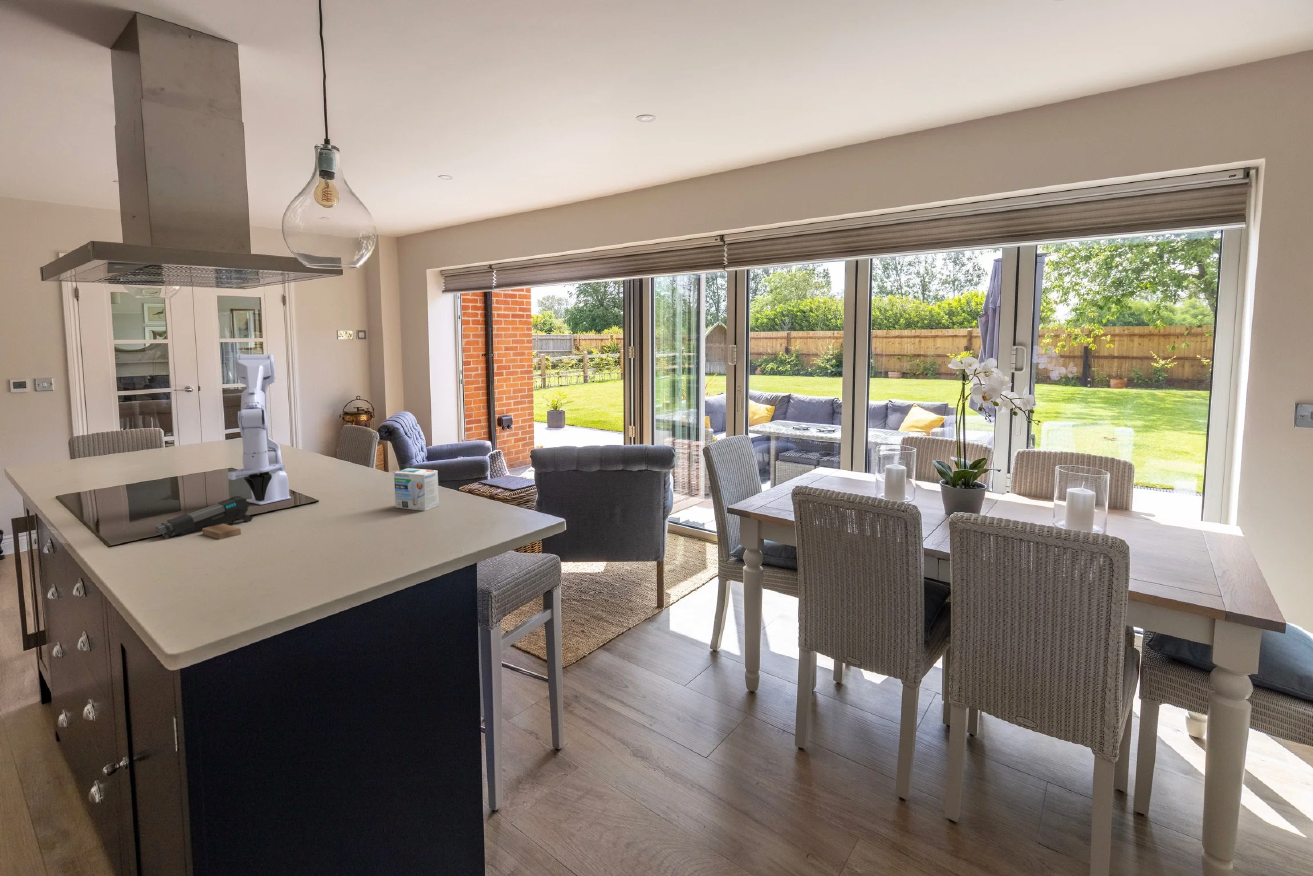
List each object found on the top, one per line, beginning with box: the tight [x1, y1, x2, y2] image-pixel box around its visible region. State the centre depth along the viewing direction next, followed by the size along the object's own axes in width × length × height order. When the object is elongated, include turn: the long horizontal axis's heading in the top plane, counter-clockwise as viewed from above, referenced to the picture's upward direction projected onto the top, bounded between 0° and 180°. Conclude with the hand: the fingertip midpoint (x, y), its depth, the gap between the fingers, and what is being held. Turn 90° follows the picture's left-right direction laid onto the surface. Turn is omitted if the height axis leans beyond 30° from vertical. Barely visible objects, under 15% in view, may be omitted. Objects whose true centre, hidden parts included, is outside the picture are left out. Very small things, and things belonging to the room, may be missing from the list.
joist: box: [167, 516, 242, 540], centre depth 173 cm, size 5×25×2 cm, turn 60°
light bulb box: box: [393, 467, 440, 512], centre depth 196 cm, size 11×7×11 cm, turn 73°
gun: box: [154, 495, 254, 539], centre depth 173 cm, size 4×20×10 cm, turn 142°
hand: (259, 500), depth 185 cm, fingers closed
